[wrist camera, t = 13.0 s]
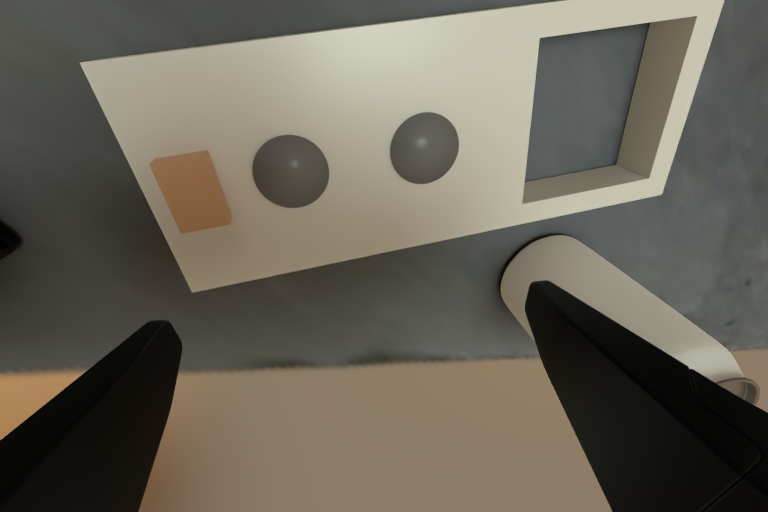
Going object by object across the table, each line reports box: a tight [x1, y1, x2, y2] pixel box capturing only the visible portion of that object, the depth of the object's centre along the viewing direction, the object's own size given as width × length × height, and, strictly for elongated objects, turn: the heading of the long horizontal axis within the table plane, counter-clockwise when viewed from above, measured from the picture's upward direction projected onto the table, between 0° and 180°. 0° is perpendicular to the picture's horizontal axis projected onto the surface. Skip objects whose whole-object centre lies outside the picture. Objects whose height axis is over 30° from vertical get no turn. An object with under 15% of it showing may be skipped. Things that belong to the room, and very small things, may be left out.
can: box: [501, 235, 760, 406], centre depth 21 cm, size 6×6×12 cm
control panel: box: [80, 0, 724, 293], centre depth 18 cm, size 26×10×3 cm, turn 96°
